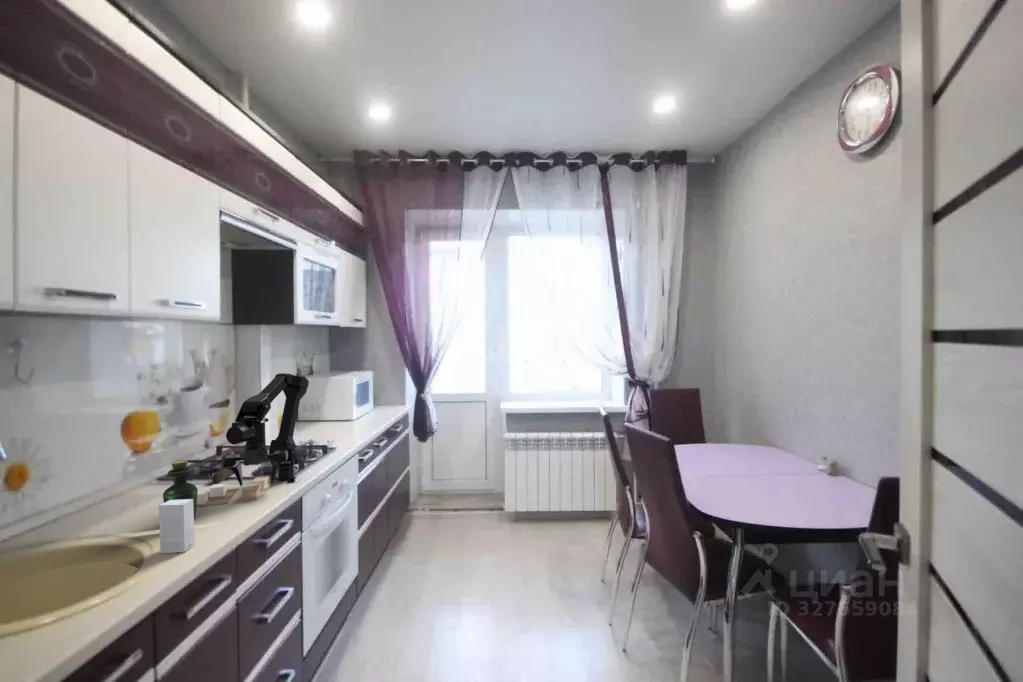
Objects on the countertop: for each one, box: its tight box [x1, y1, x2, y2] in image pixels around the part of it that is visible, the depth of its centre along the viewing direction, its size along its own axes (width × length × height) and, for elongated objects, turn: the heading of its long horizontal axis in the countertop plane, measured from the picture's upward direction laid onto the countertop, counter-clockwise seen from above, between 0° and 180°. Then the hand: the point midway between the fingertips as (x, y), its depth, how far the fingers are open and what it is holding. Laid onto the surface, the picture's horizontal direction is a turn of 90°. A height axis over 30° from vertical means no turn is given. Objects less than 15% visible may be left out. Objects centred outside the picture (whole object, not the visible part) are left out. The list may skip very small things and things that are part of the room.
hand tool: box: [212, 467, 234, 485], centre depth 175 cm, size 19×4×5 cm, turn 11°
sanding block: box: [242, 474, 271, 502], centre depth 156 cm, size 14×4×5 cm, turn 11°
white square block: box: [197, 489, 209, 504], centre depth 148 cm, size 4×4×3 cm
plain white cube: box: [208, 482, 228, 498], centre depth 155 cm, size 4×4×3 cm
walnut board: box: [196, 488, 239, 509], centre depth 152 cm, size 16×14×1 cm
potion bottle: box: [162, 459, 199, 521], centre depth 133 cm, size 8×8×18 cm
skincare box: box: [158, 499, 196, 554], centre depth 118 cm, size 6×4×12 cm
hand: (257, 484), depth 157 cm, fingers open, 9 cm apart
